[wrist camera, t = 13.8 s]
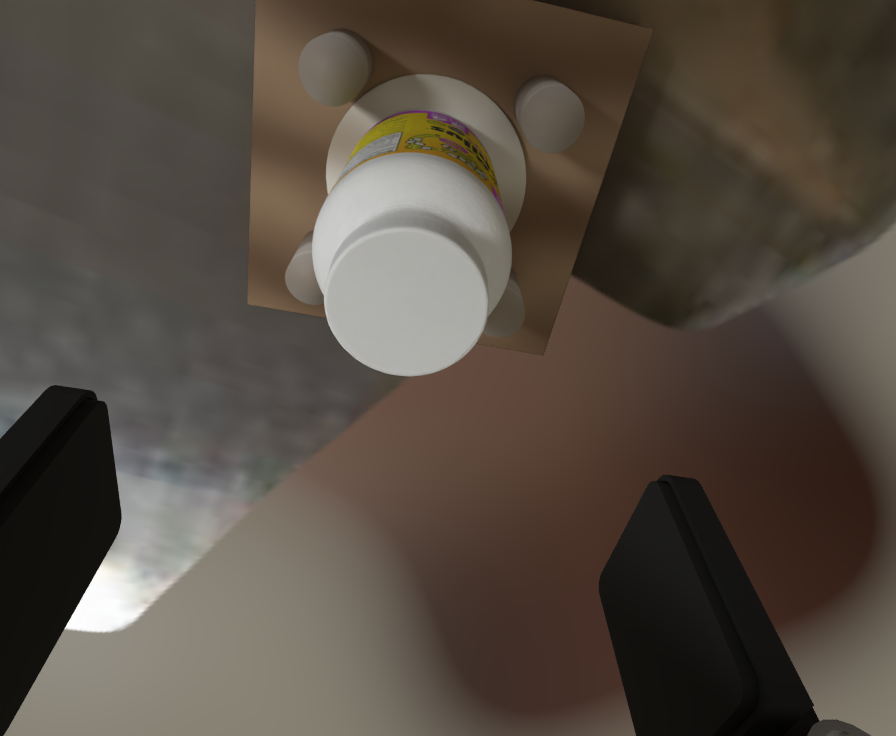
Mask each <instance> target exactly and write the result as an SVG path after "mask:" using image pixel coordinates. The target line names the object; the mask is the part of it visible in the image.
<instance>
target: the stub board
mask: <svg viewBox="0 0 896 736" xmlns="http://www.w3.org/2000/svg"><path fill="white" fill-rule="evenodd" d="M653 30H654V29H650V28H646V27H642V26H638V25H633V24H629V23H625V22H621V21H617V20H613V19H609V18H605V17H600V16H596V15H592V14H588V13H584V12H580V11H576V10H572V9H567V8H563V7H559V6H555V5H551V4H547V3H543V2H539V1H534V0H256V15H255V51H254V87H253V123H252V160H251V196H250V232H249V268H248V304H251V305H256V306H262V307H268V308H274V309H279V310H285V311H291V312H297V313H302V314H308V315H314V316H319V317H325V318H327V317H326V313H325V307H324V295H323V293H322V291H321V289H320V287H319V284H318V282H317V279H316V276H315V272H314V266H313V259H312V240H313V233H314V228H315V224H316V220H317V218H318V215H319V212H320V210H321V208H322V206H323V204H324V202H325V200H326V198H327V196H328V195H329V193H330V191H331V189H332V188H333V186H334V184H335V183H336V181H337V179H338V177H339V176H340V174H341V172H342V170H343V168H344V167H345V165H346V163H347V161H348V159H349V158H350V156H351V154H352V152H353V151H354V149H355V147H356V146H357V144H358V142H359V141H360V140H361V138H362V137H363V136H364V135H365V134H366V132H367V131H368V130H370V129H371V128H372V127H373V126H374V125H375V124H377V123H378V122H379V121H381V120H382V119H384V118H386V117H388V116H390V115H392V114H394V113H397V112H400V111H405V110H410V109H428V110H434V111H439V112H443V113H445V114H448V115H450V116H452V117H454V118H456V119H458V120H460V121H461V122H462V123H464V124H465V125H466V126H468V127H469V128H470V129H471V130H472V131H473V132H474V133H475V134H476V135H477V136H478V138H479V139H480V140H481V142H482V143H483V145H484V146H485V148H486V150H487V152H488V154H489V157H490V159H491V162H492V165H493V168H494V172H495V176H496V180H497V184H498V188H499V192H500V196H501V200H502V205H503V209H504V213H505V217H506V221H507V224H508V228H509V233H510V238H511V246H512V264H511V270H510V275H509V279H508V283H507V286H506V288H505V291H504V293H503V295H502V297H501V299H500V301H499V302H498V304H497V305H496V307H495V308H494V310H493V311H492V312H491V314H490V315H489V316H488V318H487V322H486V325H485V328H484V330H483V332H482V334H481V336H480V338H479V339H478V341H477V342H476V344H480V345H485V346H491V347H497V348H502V349H508V350H514V351H520V352H526V353H531V354H537V355H544V352H545V349H546V346H547V343H548V340H549V337H550V334H551V331H552V328H553V325H554V322H555V319H556V316H557V313H558V310H559V307H560V305H561V302H562V299H563V296H564V293H565V290H566V287H567V284H568V281H569V278H570V275H571V272H572V269H573V266H574V263H575V260H576V257H577V254H578V251H579V248H580V246H581V243H582V240H583V237H584V234H585V231H586V228H587V225H588V222H589V219H590V216H591V213H592V210H593V207H594V204H595V201H596V198H597V195H598V192H599V189H600V186H601V184H602V181H603V178H604V175H605V172H606V169H607V166H608V163H609V160H610V157H611V154H612V151H613V148H614V145H615V142H616V139H617V136H618V133H619V130H620V127H621V124H622V121H623V119H624V116H625V113H626V110H627V107H628V104H629V101H630V98H631V95H632V92H633V89H634V86H635V83H636V80H637V77H638V74H639V71H640V68H641V65H642V62H643V59H644V57H645V54H646V51H647V48H648V45H649V42H650V39H651V36H652V33H653Z"/></svg>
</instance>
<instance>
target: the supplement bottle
mask: <svg viewBox="0 0 896 736" xmlns="http://www.w3.org/2000/svg"><path fill="white" fill-rule="evenodd" d="M312 259H313V266H314V272H315V276H316V279H317V282H318V284H319V287H320V289H321V291H322V293H323V295H324V307H325V313H326V317H327V320H328V323H329V326H330V328H331V330H332V332H333V334H334V335H335V337H336V338H337V340H338V342H339V343H340V344H341V346H342V347H343V348H344V349H345V350H346V351H347V352H348V353H350V354H351V355H352V356H353V357H354V358H356V359H357V360H358V361H360V362H361V363H363V364H365V365H367V366H368V367H370V368H373V369H375V370H378V371H381V372H384V373H388V374H393V375H399V376H418V375H426V374H430V373H434V372H437V371H440V370H442V369H445V368H447V367H449V366H451V365H453V364H454V363H456V362H457V361H459V360H460V359H461V358H462V357H464V356H465V355H466V354H467V353H468V352H469V351H470V350H471V349H472V348H473V346H474V345H475V344H476V342H477V341H478V339H479V338H480V336H481V334H482V332H483V330H484V328H485V325H486V322H487V318H488V316H489V315H490V314H491V312H492V311H493V310H494V308H495V307H496V305H497V304H498V302H499V301H500V299H501V297H502V295H503V293H504V291H505V288H506V286H507V283H508V279H509V275H510V270H511V264H512V246H511V238H510V233H509V228H508V224H507V221H506V217H505V213H504V209H503V205H502V200H501V196H500V192H499V188H498V184H497V180H496V176H495V172H494V168H493V165H492V162H491V159H490V157H489V154H488V152H487V150H486V148H485V146H484V145H483V143H482V142H481V140H480V139H479V138H478V136H477V135H476V134H475V133H474V132H473V131H472V130H471V129H470V128H469V127H468V126H466V125H465V124H464V123H462V122H461V121H460V120H458V119H456V118H454V117H452V116H450V115H448V114H445V113H443V112H439V111H434V110H428V109H410V110H405V111H400V112H397V113H394V114H392V115H390V116H388V117H386V118H384V119H382V120H381V121H379V122H378V123H377V124H375V125H374V126H373V127H372V128H371V129H370V130H368V131H367V132H366V134H365V135H364V136H363V137H362V138H361V140H360V141H359V142H358V144H357V146H356V147H355V149H354V151H353V152H352V154H351V156H350V158H349V159H348V161H347V163H346V165H345V167H344V168H343V170H342V172H341V174H340V176H339V177H338V179H337V181H336V183H335V184H334V186H333V188H332V189H331V191H330V193H329V195H328V196H327V198H326V200H325V202H324V204H323V206H322V208H321V210H320V212H319V215H318V218H317V220H316V224H315V228H314V233H313V240H312Z"/></svg>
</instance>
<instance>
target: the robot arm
mask: <svg viewBox="0 0 896 736" xmlns="http://www.w3.org/2000/svg"><path fill="white" fill-rule="evenodd" d="M120 524H121V507H120V499H119V492H118V484H117V477H116V469H115V462H114V454H113V446H112V439H111V431H110V424H109V416H108V409H107V405H106V403H105V402H103V401H97V397H96V394H95V393H94V392H93V391H91V390H84V389H78V388H71V387H64V386H57V385H54V386H50V387H49V388H48V389H46V390H45V391H44V392H43V393H42V395H41V396H40V397H39V398H38V399H37V400H36V401H35V402H34V403H33V404H32V405H31V406H30V407H29V409H28V410H27V411H26V412H25V413H24V414H23V415H22V416H21V417H20V418H19V419H18V420H17V421H16V422H15V424H14V425H13V426H12V427H11V428H10V429H9V430H8V431H7V432H6V433H5V434H4V435H3V436H2V438H1V439H0V736H3V735H4V734H5V732H6V731H7V729H8V728H9V726H10V724H11V722H12V720H13V719H14V716H15V715H16V713H17V711H18V710H19V708H20V706H21V704H22V703H23V701H24V699H25V697H26V696H27V694H28V692H29V690H30V689H31V687H32V685H33V683H34V682H35V680H36V678H37V676H38V674H39V673H40V671H41V669H42V667H43V666H44V664H45V662H46V660H47V659H48V657H49V655H50V653H51V651H52V650H53V648H54V646H55V644H56V643H57V641H58V639H59V637H60V636H61V634H62V632H63V630H64V628H65V627H66V625H67V623H68V621H69V620H70V618H71V616H72V614H73V613H74V611H75V609H76V607H77V605H78V604H79V602H80V600H81V598H82V597H83V595H84V593H85V591H86V590H87V588H88V586H89V584H90V582H91V581H92V579H93V577H94V575H95V574H96V572H97V570H98V568H99V567H100V565H101V563H102V561H103V560H104V558H105V556H106V554H107V552H108V551H109V549H110V547H111V545H112V544H113V542H114V540H115V538H116V536H117V534H118V531H119V529H120ZM599 594H600V598H601V602H602V606H603V610H604V613H605V617H606V621H607V625H608V629H609V632H610V637H611V640H612V644H613V648H614V652H615V656H616V660H617V664H618V667H619V671H620V675H621V679H622V683H623V686H624V690H625V694H626V698H627V702H628V706H629V710H630V713H631V717H632V721H633V725H634V729H635V733H636V736H870V735H869V734H868V733H866V732H864V731H862V730H861V729H859V728H857V727H856V726H854V725H852V724H849V723H845V722H842V721H839V720H822V721H819V719H818V717H817V715H816V713H815V711H814V709H813V706H814V704H813V703H812V701H811V699H810V697H809V695H808V693H807V691H806V689H805V687H804V685H803V683H802V681H801V679H800V677H799V675H798V673H797V671H796V669H795V668H794V666H793V663H792V662H791V660H790V658H789V656H788V654H787V652H786V650H785V648H784V646H783V644H782V642H781V640H780V638H779V637H778V634H777V632H776V630H775V628H774V626H773V625H772V623H771V621H770V619H769V617H768V615H767V613H766V611H765V609H764V607H763V605H762V603H761V601H760V599H759V597H758V595H757V593H756V591H755V590H754V587H753V585H752V584H751V582H750V580H749V578H748V576H747V574H746V572H745V570H744V568H743V566H742V564H741V562H740V560H739V558H738V556H737V554H736V552H735V550H734V548H733V546H732V544H731V543H730V541H729V539H728V537H727V535H726V533H725V531H724V529H723V527H722V525H721V523H720V521H719V519H718V517H717V515H716V513H715V511H714V509H713V508H712V505H711V503H710V502H709V500H708V498H707V496H706V494H705V492H704V490H703V488H702V486H701V484H700V483H699V482H698V481H697V480H695V479H692V478H685V477H679V476H672V475H662V476H661V477H660V478H659V479H658V480H657V481H652V482H650V483H649V485H648V486H647V488H646V490H645V492H644V494H643V495H642V497H641V499H640V501H639V503H638V505H637V507H636V509H635V511H634V513H633V514H632V516H631V518H630V520H629V522H628V524H627V526H626V528H625V529H624V531H623V533H622V535H621V537H620V539H619V541H618V543H617V545H616V547H615V548H614V550H613V552H612V554H611V556H610V558H609V560H608V562H607V564H606V565H605V568H604V569H603V571H602V573H601V576H600V580H599Z"/></svg>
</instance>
